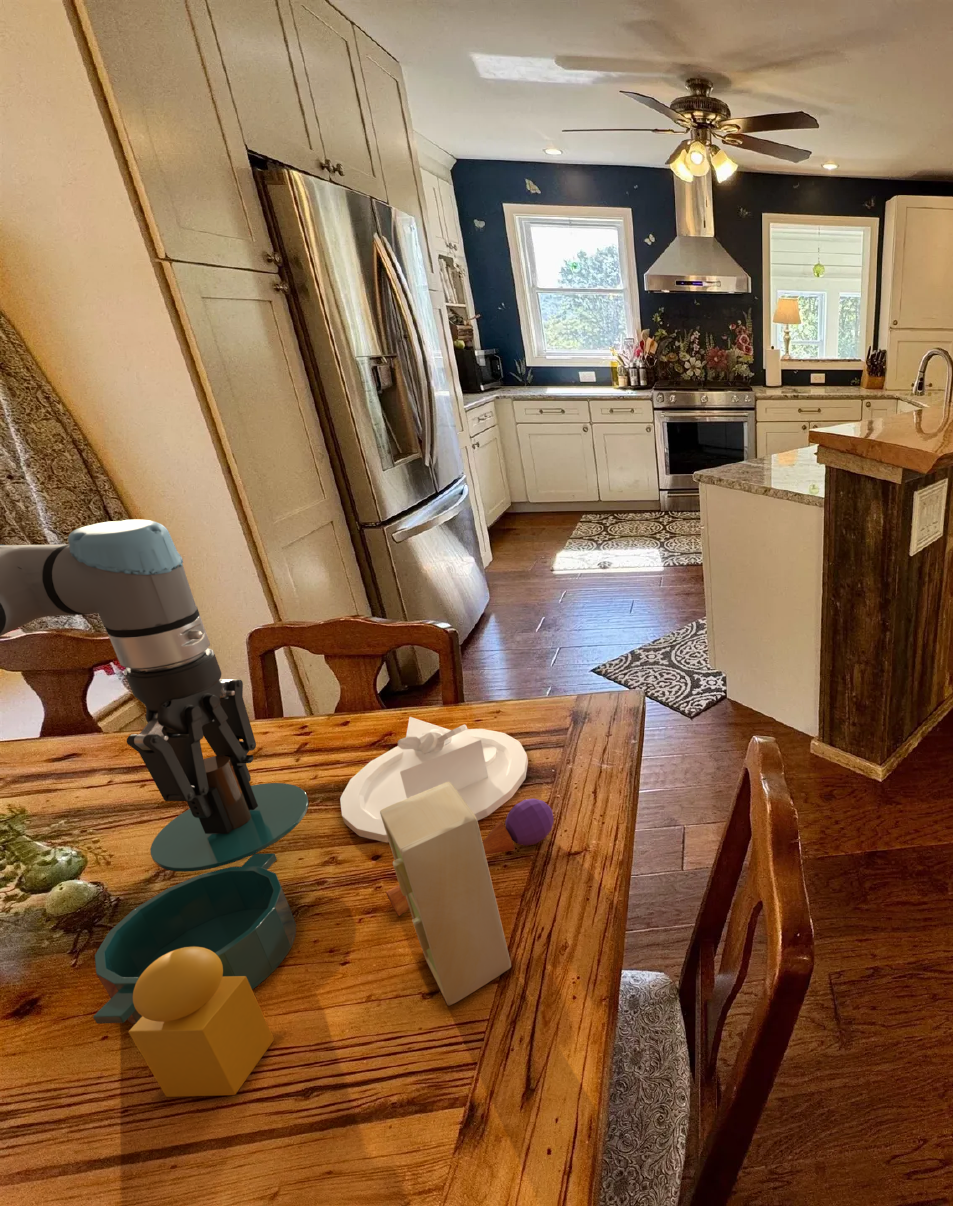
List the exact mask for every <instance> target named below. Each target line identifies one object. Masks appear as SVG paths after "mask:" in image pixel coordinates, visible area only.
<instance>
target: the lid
mask: <svg viewBox="0 0 953 1206" xmlns="http://www.w3.org/2000/svg"><path fill="white" fill-rule="evenodd" d="M203 760H204V765H205V771H206V776H207V781H208V787H209V788H217V791H218V793H219V796H220V798H221V801H222V803H223V806H224V808H225V811H226V814H227V816H228V819H229V821H230V824H231V826H232V829H233V830H232V831H230V832H229V833H228V834H205V832H204V830H203V827H202V825H201V822H200V820H199V818H195V817H194V816H193V815H192V813H191V810H190V808H188V809H187V810H185V811H184V812H182V813H180V814H179V815H178V816H176V817H174V818H173V819H172V820H170V821H169V822H168V823H167V824H166V825H165V826H163V828H162V829H161V830H160V831H159V832H158V833H157V834H156V836H155V837H154V839H153V841H152V843H151V846H150V851H149V852H150V856H151V859H152V861H153V863H155V865H156V866H157V867H159V868H161V869H164V870H167V871H171V872H181V873H186V872H187V873H189V872H199V871H205V870H210V869H216V868H219V867H223V866H227V865H229V864H233V863H236V862H238V861H241V860H243V859H246V858H248V857H251V856H252V855H253V854H258V853H260V852H261V851H263V850H265V849H267V848H268V847H271V846H272V845H274V844H275V843H277V842H278V841H280V840H281V839H282V838H284V837H286V836H287V835H288V834H289V833H291V832H292V831H293V830H294V829H295V828H296V827H297V826H298V825H299V824H300V823H301V821H302V820H303V819H304V817H305V816H306V814H307V812H308V809H309V805H310V802H309V797H308V795H307V793H306V792H305V790H303V789H302V788H301V787H299V786H297V785H294V784H290V783H285V782H267V783H258V784H253V785H251V788H252V791H253V794H254V796H255V799H256V802H257V804H258V807H257V808H255V809H254V810H249V808H248V805H247V802H246V800H245V797H244V794H243V792H242V789H241V786H240V784H239V781H238V778H237V776H236V773H235V770H234V768H233V765H232V762H231V760H230V758H229V757H228V756H225V755H219V756H216V755H213V756H210V757H206V758H203Z"/></svg>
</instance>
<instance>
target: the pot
mask: <svg viewBox="0 0 953 1206" xmlns="http://www.w3.org/2000/svg"><path fill="white" fill-rule="evenodd" d="M277 860H278V858H277V855H276V853H273V852H272V853H269V852H267V853H255V854H253V855H251V856H249V858H248V859H247V860H246V861H245V862H244V864H242V865H241V866H229V867H225V868H221V869H217V870H213V871H208V872H204V873H201V874H198V875H196V876H194V877H191V878H188V879H186V880H184V881H181V882H179V883H178V884H175V885H172V886H170V887H168V888H167V887H166V889H164V890H162V891H161V892H159V893H158V894H157V895H155V896H153V897H151V898H149V899H148V900H147V901H145V902H143V903H141V904H139V905H138V906H136V907H135V908H133V909H132V910H131V911H130V912H129V913H128V914H127V915H125V917H123V918H122V919H121V920H120V921H119V922H118V923H116V925H115V926H114V927H112V928H111V929H110V930H108V933H107V934H106V936H105V937H104V939H103V941H102V943H101V944H100V945H99V947H98V949H97V951H96V952H95V954H94V964H95V974H96V976H97V978H98V979H99V982H100V983H101V985H102V986H103V988H104V990H105V992H106V993H107V995H108V997H109V1000H108V1001H107V1002H105V1004H104V1005H103V1006H102V1007H101V1008H100V1009H99V1010H98V1011H96V1013H95V1014H94V1015H93V1016H92V1018H93V1020H94V1022H95V1023H96V1024H97V1025H98V1024H99V1025H101V1024H102V1025H105V1024H124V1023H125V1022H126V1021H127V1022H128V1023H129V1024H131V1025H133V1026H134V1025H135V1024H136V1023H137V1022H138V1021H139V1019H140V1018H141V1017H142V1016H141V1015H140V1014H139V1013H138V1012H137V1010H136V1009H135V1007H134V1004H133V991H134V988H135V985H136V983H137V981H138V979H139V977H140V976H141V974H142V973H143V972H144V971H145V969H146V968H147V967H148V966H149V965H151V964H152V963H153V962H154V961H155V960H157V959H158V958H160V957H161V956H163V955H165V954H167V953H169V952H171V951H174V950H177V949H180V948H185V947H203V948H206V949H209V950H211V951H213V952H214V953H215V954H216V955H217V956H218V957H219V958H220V960H221V962H222V966H223V976H222V977H228V976H246V978H247V980H248V982H249V984H250V986H251V989H252V991H253V990H254V989H255V988H256V987H258V986H259V985H260V984H262V983H263V982H264V981H265V980H266V979H268V977H270V976H271V975H272V974H273V973H274V972H275V970H277V969H278V967H279V966H280V965H281V964H282V963H283V961H284V960H285V959H286V957H287V956H288V954H289V952H290V951H291V949H292V947H293V945H294V942H295V940H296V936H297V922H296V920H295V918H294V915H293V912H292V910H291V906H290V905H289V901H288V900H287V896H286V894H285V892H284V889H283V887H282V885H281V883H280V880H279V877H278V875H277V873H276V872H274V871H271V870H269V869H270V868H271V867H272V865H274V863H275V862H276V861H277Z"/></svg>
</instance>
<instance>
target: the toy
mask: <svg viewBox="0 0 953 1206" xmlns="http://www.w3.org/2000/svg"><path fill="white" fill-rule="evenodd" d="M222 976H223V966H222V962H221V960H220V958H219V957H218V956H217V955H216V954H215V953H214V952H213V951H211V950H209V949H206V948H203V947H185V948H180V949H177V950H174V951H171V952H169V953H167V954H165V955H163V956H161V957H160V958H158V959H157V960H155V961H154V962H153V963H152V964H151V965H149V966H148V967H147V968H146V969H145V971H144V972H143V973H142V974H141V976H140V977H139V979H138V981H137V983H136V985H135V988H134V991H133V1004H134V1007H135V1009H136V1010H137V1012H138V1013H139V1014H140V1015H141V1016H142V1017H141V1018H140V1019H139V1021H138V1022H137V1023H136V1024H135V1025H134V1024H133V1026H132V1027H131V1028H130V1029H129V1030H128V1035H129V1036H130V1038H131V1040H132V1041H133V1042H134V1044H135V1046H136V1048H137V1049H138V1051H139V1053H140V1055H141V1056H142V1058H143V1060H144V1062H145V1063H146V1065H147V1066H148V1068H149V1070H150V1072H151V1073H152V1075H153V1077H154V1078H155V1080H156V1083H157V1084H158V1086H159V1087H160V1089H161V1091H162V1092H163V1095H164V1096H165V1097H166V1098H171V1097H172V1098H175V1097H176V1098H178V1097H210V1096H211V1097H216V1096H235V1095H237V1093H238V1092H239V1090H240V1089H241V1087H242V1086H243V1084H244V1083H245V1082H246V1080H247V1079H248V1078H249V1076H250V1075H251V1074H252V1072H253V1071H254V1069H255V1068H256V1067H257V1065H258V1063H259V1062H260V1061H261V1059H262V1057H263V1056H264V1055H265V1054H266V1052H267V1051H268V1049H269V1048H270V1046H271V1045H272V1044H273V1042H274V1040H275V1037H274V1035H273V1033H272V1031H271V1029H270V1026H269V1025H268V1021H267V1020H266V1017H265V1015H264V1013H263V1011H262V1008H261V1006H260V1004H259V1002H258V1000H257V998H256V996H255V993H254V991H253V990H252V989H251V986H250V984H249V982H248V980H247V978H246V976H228V977H222Z"/></svg>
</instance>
